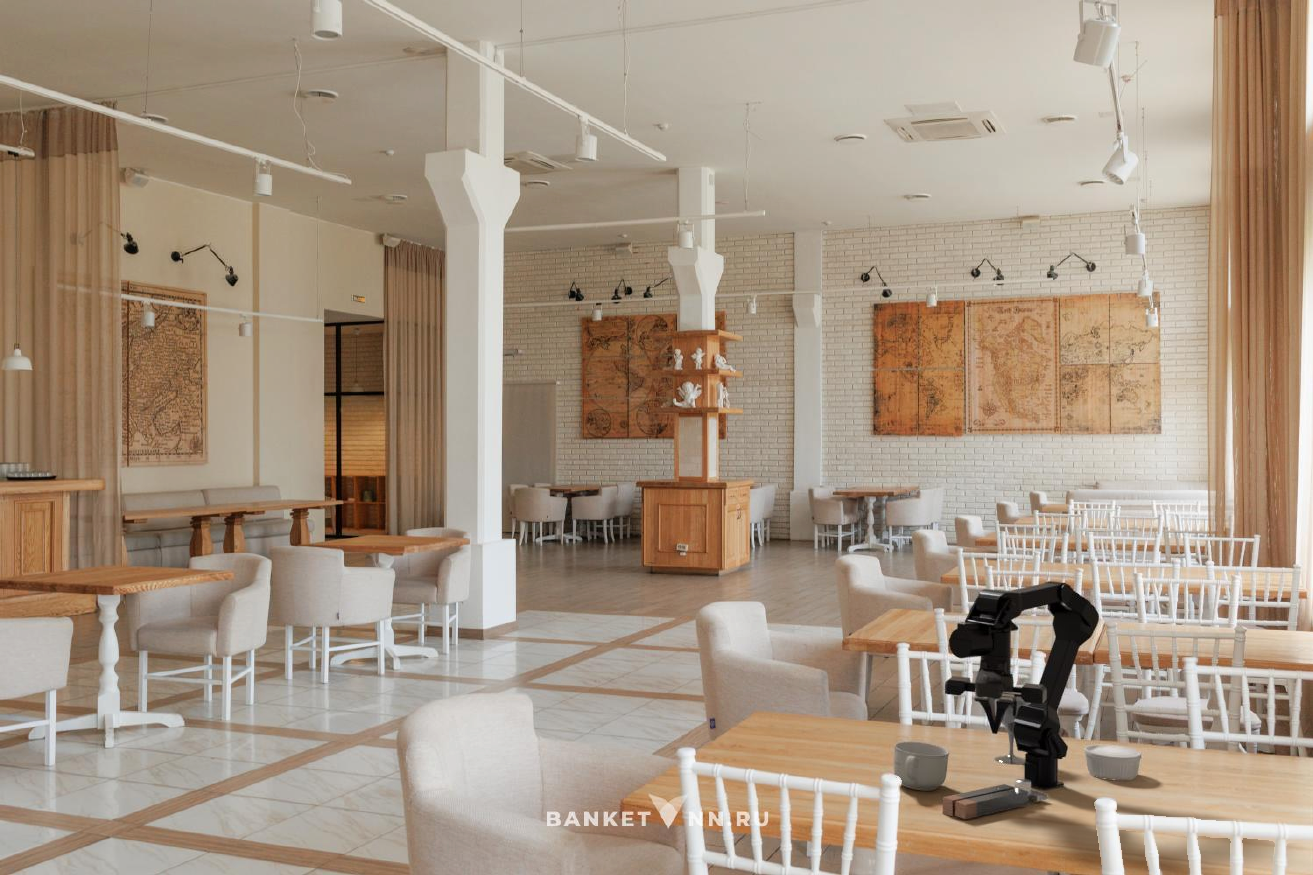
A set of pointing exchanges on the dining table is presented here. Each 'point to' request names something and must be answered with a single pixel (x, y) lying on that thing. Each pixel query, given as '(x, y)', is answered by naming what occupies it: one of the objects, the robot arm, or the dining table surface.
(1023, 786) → the base
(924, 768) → the teacup
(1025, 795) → the tongs arm
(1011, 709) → the wine glass
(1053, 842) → the dining table surface
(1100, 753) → the ramekin
